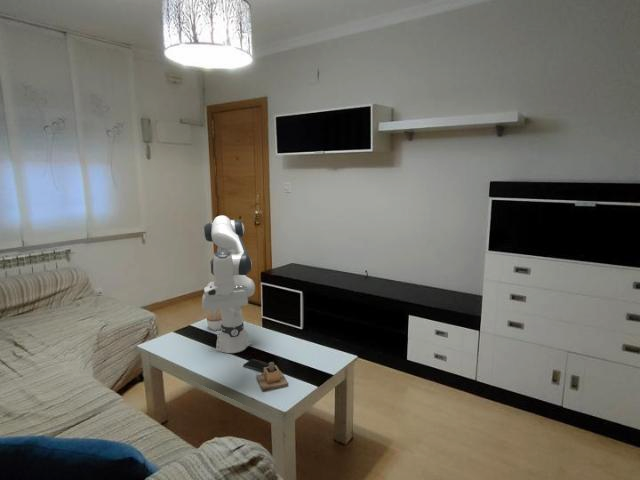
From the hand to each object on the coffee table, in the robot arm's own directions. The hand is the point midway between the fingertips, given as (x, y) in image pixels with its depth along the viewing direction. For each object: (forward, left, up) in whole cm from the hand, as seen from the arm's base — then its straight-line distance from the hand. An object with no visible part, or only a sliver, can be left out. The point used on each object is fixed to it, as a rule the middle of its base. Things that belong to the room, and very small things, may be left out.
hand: (225, 317), depth 178 cm
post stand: (+10, +18, -31) cm, 37 cm away
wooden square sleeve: (+10, +18, -30) cm, 36 cm away
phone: (-6, +16, -32) cm, 36 cm away
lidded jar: (-62, +3, -31) cm, 70 cm away
